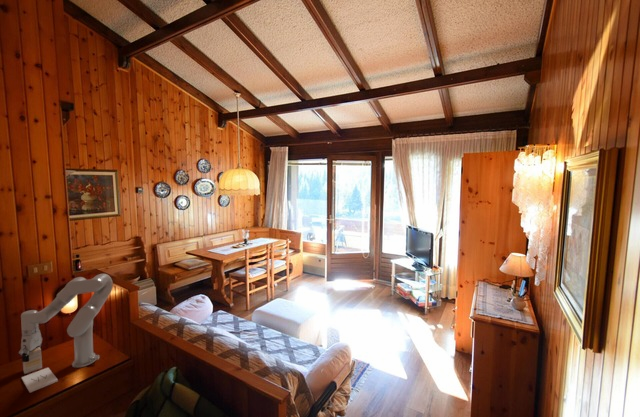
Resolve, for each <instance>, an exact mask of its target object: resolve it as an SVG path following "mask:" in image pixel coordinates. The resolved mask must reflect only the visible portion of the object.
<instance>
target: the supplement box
mask: <svg viewBox="0 0 640 417" xmlns="http://www.w3.org/2000/svg"><path fill="white" fill-rule="evenodd" d="M25 353H26V352H25ZM28 355H29V361H28V362H22V369H23V374H24V375H25V374H30V373H31V372H32V373H33V372H36V371H37V370H38V371H39V370H42V369H43V360H42V358H43V357H42V349H40V347H38V348H35V349H33V350H32V351H29V353H28Z"/></svg>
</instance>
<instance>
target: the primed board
mask: <svg viewBox="0 0 640 417" xmlns="http://www.w3.org/2000/svg"><path fill="white" fill-rule="evenodd" d="M20 377H21V380H22V382H23V384H24V385H25V386H24V387H25V388H26V389H27V391H28V392H29V393H33V392H35V391H37V390H41V389H43V388H46V387H48V386H50V385H52V384H55V383H57V382H59V379H58V378H57V377H56V375H55V374H54V373H53V372H52V370H51V369H50V367H45V368H41V369H39V370H38V371H37V370H36V371H33V372H32V373H28V374H27V375H24V376H20Z"/></svg>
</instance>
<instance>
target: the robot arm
mask: <svg viewBox="0 0 640 417" xmlns="http://www.w3.org/2000/svg"><path fill="white" fill-rule="evenodd" d="M113 282H114V281H113V279H112V277H111V276H110V275H109V274H107V273H100V274H97V275H95V276H94V277H93V278H89V279H87V278H85V277H83V276H78V277H74V278H73V279H71V280H70V281H68V282H67V283H66V285H65V286H64V288H62V289H61V290H60V291H59V292H58V293H57V294H56V297H55V298H54V299H53V300H52V301H51V302H50V303H49V304H48V305H47V306H46V307H44V308H43V309H41V310H39V311H38V310H36V309H29V310H26V311H23V312H22V313H21V314H20V320H21V323H20V324H21V326H20V327H21V339H20V340H21V341H20V342H21V343H20V350H19V351H18V354H19V355H20V357H22V360H21V361H22V363H23V362H28V361H29V355H28V353H29V351H32V350H33V349H35V348H38V347H40V349H41V346H42V343H43V337H42V334H41V330H40V325H39V324H45V323H47V322H49V321H50V320H51V319H52V318H53V317H55V316H56V315H57V314H59V312H60V311H61V310H62V309H63V308H64V307H65V306H67V304H69V303H70V302H72V300H73V299H74V298H76V296H78V295H82V294H88V293H93V294H91V295H92V296H91V297H90V298H89V299H88V301H87V302H86V303H85V304H84V305H83V306H82V307H81V308H80V309H79V310H78V311H77V312H76V314H75V315H74V317H73V319H72V321H70V323H69V325H68V326H67V329H66V332H67V335H68V336H69V337H71V338H73V348H74V350H73V351H74V360H73V362H71V366H72V368H75V369H77V368H78V369H79V368H84V367H87V366H89V365H91V364H93V363H94V362H95V361H97V360H100V354H96V352H94V338H93V336H94V335H93V334H94V333H93V330H94V328H93V326H94V319H95V317H96V316H97V315H99V312H100V311H101V309H102V307H103V306H104V304H105V303H106V301H107V300H108V297H109V296H110V294H111V293H112V290H113V288H114V287H113V284H114V283H113ZM41 350H42V349H41ZM25 352H26V353H25Z"/></svg>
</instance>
